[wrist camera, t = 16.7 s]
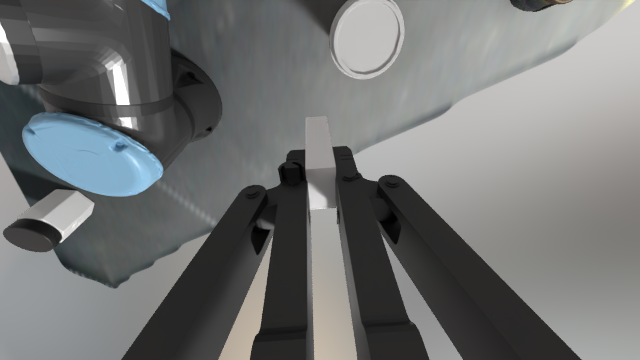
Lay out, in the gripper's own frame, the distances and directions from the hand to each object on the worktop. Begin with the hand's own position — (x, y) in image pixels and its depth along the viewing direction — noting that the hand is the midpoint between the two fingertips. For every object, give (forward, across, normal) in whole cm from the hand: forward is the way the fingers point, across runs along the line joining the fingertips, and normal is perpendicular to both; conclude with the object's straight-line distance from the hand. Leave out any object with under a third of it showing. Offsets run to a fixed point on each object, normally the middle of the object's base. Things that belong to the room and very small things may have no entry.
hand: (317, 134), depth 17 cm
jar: (+30, +61, +28) cm, 73 cm away
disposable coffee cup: (+29, -7, -4) cm, 30 cm away
